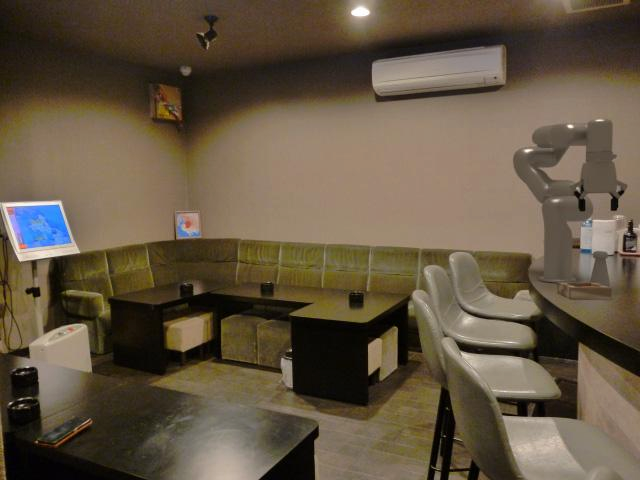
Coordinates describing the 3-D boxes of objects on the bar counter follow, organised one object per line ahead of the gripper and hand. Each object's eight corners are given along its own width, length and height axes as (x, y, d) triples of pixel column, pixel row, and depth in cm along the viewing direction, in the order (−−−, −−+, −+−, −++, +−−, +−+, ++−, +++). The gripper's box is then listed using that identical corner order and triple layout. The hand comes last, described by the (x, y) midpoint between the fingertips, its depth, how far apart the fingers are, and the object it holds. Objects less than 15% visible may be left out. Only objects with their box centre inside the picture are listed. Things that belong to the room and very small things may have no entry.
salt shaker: (604, 288, 171) (605, 250, 170) (612, 291, 165) (614, 252, 164) (586, 288, 171) (587, 250, 170) (594, 291, 165) (595, 252, 165)
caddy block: (557, 292, 164) (557, 281, 164) (594, 292, 163) (594, 281, 163) (571, 299, 153) (572, 287, 153) (611, 299, 152) (611, 287, 151)
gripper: (621, 158, 167) (620, 210, 168) (566, 160, 169) (565, 211, 170) (632, 156, 159) (631, 210, 160) (574, 157, 161) (574, 211, 162)
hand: (598, 211), depth 165 cm, fingers open, 9 cm apart
